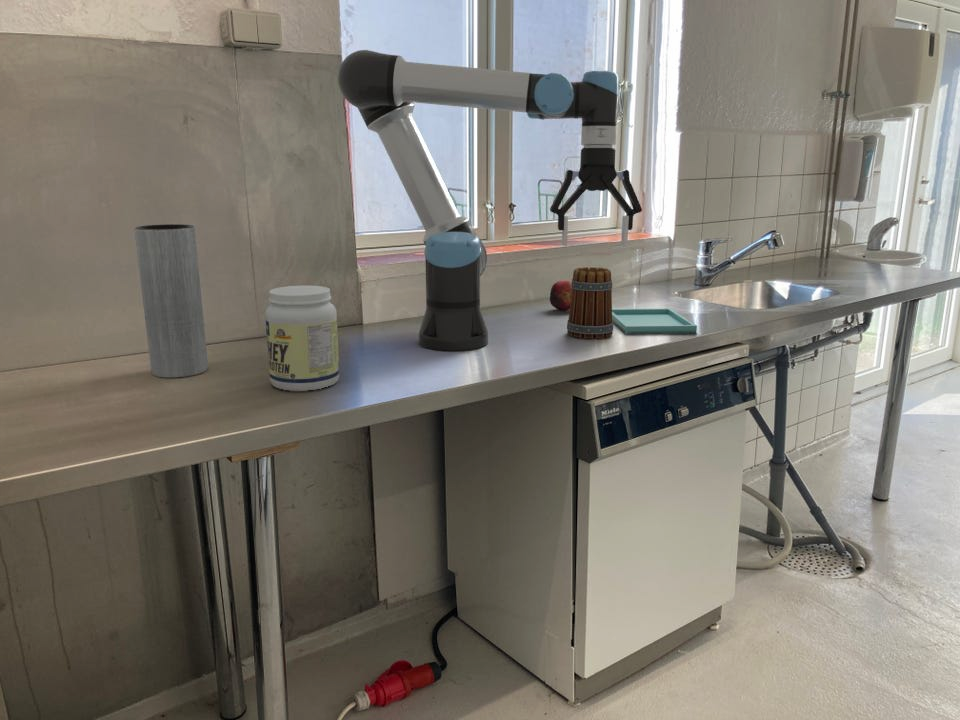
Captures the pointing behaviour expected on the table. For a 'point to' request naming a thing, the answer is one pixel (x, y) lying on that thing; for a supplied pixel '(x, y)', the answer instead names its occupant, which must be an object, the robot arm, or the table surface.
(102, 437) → the table surface
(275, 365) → the supplement tub
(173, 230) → the vase
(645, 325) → the tray
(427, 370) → the table surface
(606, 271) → the mug
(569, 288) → the fruit
